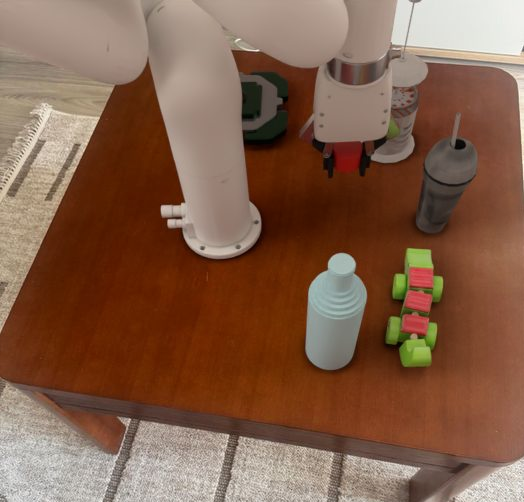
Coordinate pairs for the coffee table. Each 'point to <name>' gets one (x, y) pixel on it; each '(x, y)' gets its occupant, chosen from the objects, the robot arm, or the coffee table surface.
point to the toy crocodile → (415, 309)
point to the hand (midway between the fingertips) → (345, 169)
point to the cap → (347, 156)
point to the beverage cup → (445, 180)
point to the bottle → (334, 313)
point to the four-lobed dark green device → (263, 107)
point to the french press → (403, 103)
